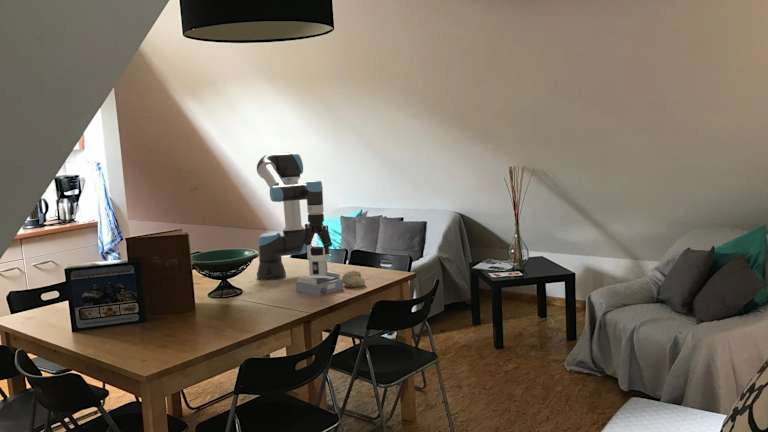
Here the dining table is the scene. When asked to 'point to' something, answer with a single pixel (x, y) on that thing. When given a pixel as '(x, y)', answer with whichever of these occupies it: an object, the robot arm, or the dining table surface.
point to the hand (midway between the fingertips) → (318, 259)
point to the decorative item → (353, 279)
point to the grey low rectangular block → (319, 284)
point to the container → (317, 262)
